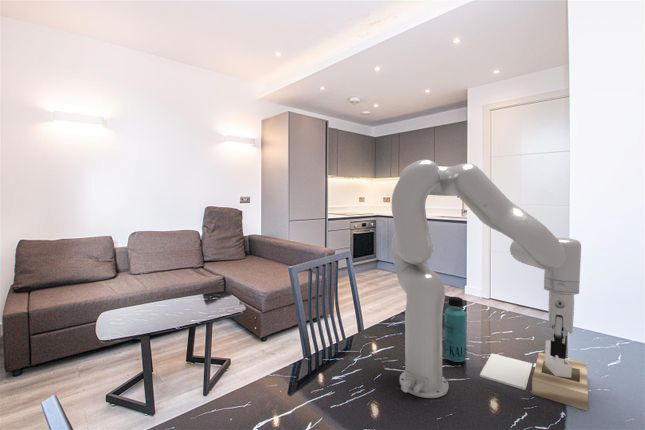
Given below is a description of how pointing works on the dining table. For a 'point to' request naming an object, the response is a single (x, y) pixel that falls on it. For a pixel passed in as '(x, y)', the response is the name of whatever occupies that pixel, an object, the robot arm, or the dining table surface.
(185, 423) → the dining table surface
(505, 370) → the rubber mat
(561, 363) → the white angled block
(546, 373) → the block
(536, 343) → the dining table surface
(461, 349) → the beverage bottle
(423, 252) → the robot arm
